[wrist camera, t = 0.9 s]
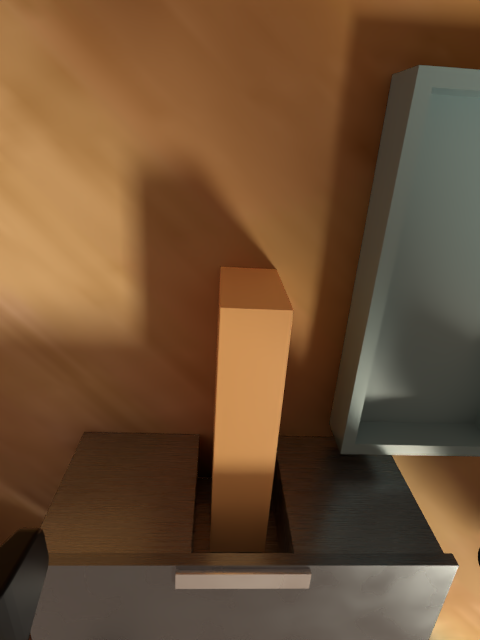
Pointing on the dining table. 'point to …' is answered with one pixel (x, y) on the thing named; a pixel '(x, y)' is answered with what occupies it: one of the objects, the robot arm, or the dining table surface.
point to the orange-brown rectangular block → (247, 404)
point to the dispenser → (236, 567)
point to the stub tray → (418, 279)
